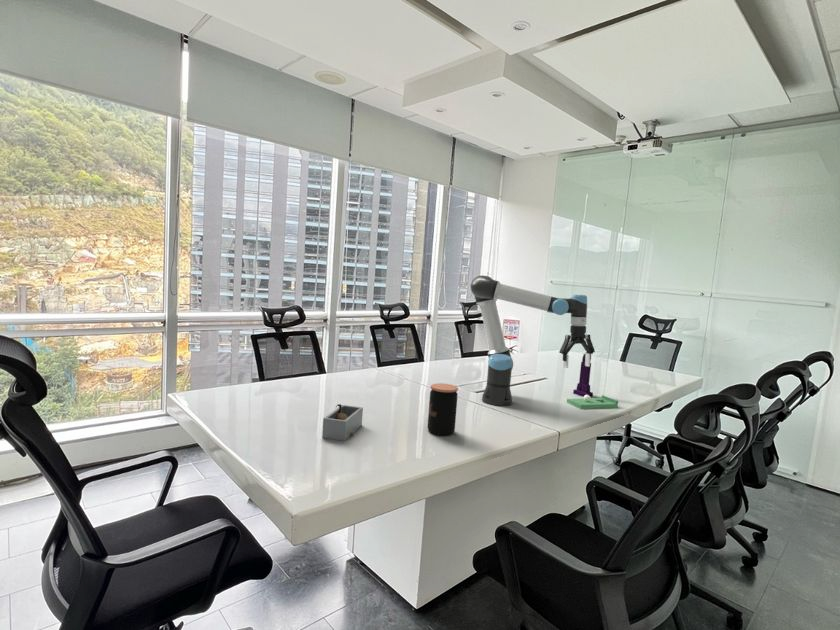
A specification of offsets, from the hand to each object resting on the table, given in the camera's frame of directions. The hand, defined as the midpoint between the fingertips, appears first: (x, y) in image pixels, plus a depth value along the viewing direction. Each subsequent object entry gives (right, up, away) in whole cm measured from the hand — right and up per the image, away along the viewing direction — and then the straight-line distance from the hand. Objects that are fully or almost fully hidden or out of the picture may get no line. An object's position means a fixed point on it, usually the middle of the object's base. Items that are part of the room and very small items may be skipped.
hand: (576, 366), depth 229 cm
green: (+10, -20, +5) cm, 23 cm away
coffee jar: (-72, -19, -54) cm, 92 cm away
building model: (+12, -19, +26) cm, 34 cm away
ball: (+6, -18, +3) cm, 20 cm away
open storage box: (-109, -17, -61) cm, 125 cm away
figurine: (-110, -17, -60) cm, 126 cm away
